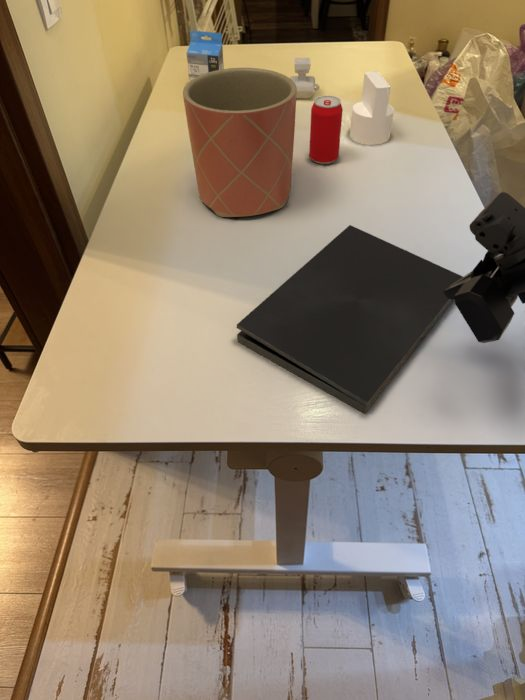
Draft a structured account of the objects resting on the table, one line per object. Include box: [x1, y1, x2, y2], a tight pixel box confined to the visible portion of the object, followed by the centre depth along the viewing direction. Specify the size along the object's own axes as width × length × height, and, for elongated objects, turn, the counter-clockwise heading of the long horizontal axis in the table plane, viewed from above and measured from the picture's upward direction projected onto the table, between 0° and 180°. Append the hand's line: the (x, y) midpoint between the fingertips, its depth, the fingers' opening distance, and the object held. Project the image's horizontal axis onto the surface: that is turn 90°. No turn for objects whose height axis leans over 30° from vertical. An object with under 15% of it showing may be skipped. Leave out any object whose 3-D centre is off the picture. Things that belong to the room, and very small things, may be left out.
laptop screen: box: [236, 224, 464, 406], centre depth 76 cm, size 21×30×1 cm
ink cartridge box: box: [186, 30, 225, 82], centre depth 134 cm, size 9×4×12 cm, turn 73°
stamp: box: [289, 57, 320, 99], centre depth 130 cm, size 9×7×8 cm
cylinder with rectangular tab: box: [349, 71, 395, 146], centre depth 113 cm, size 9×9×12 cm
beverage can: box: [308, 95, 344, 165], centre depth 106 cm, size 6×6×12 cm
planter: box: [182, 67, 297, 218], centre depth 94 cm, size 19×19×20 cm
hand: (446, 293), depth 65 cm, fingers closed
